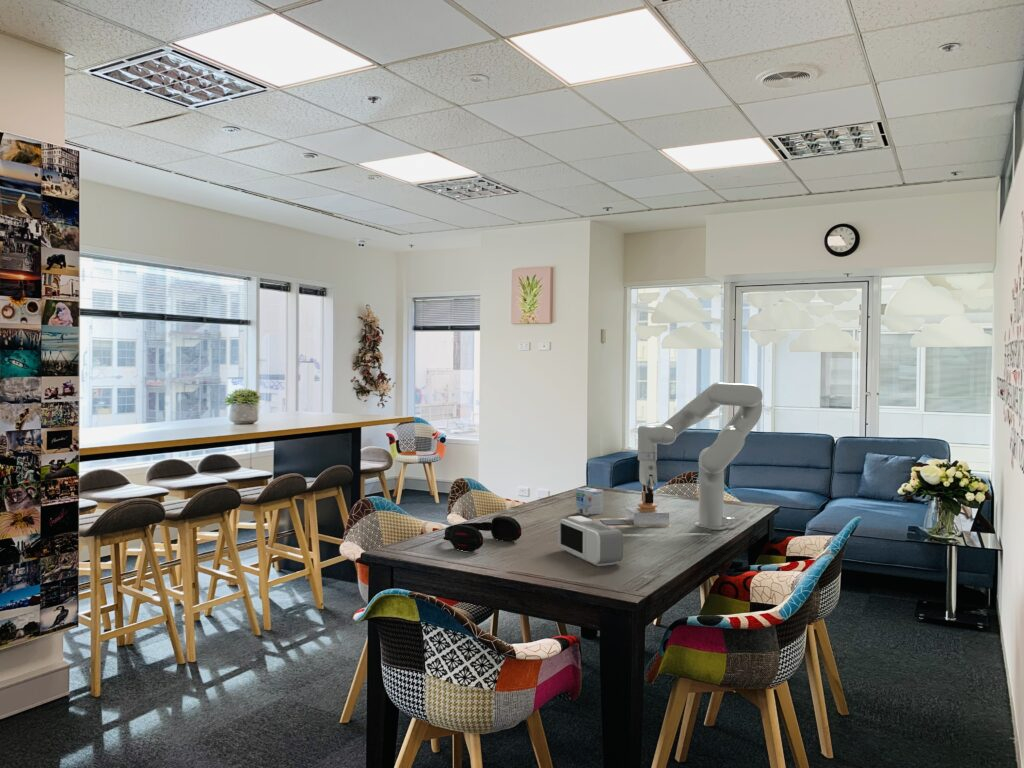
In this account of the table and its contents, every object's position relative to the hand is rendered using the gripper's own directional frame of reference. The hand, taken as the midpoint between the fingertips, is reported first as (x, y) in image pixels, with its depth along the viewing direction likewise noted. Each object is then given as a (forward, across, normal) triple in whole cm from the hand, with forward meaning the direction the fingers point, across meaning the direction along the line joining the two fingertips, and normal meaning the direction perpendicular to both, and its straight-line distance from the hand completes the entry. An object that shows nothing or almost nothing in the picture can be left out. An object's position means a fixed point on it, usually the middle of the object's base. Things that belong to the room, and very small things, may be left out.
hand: (647, 501), depth 310 cm
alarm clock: (+9, -52, +34) cm, 63 cm away
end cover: (+7, 0, 0) cm, 7 cm away
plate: (+9, 0, +6) cm, 11 cm away
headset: (+9, -31, +68) cm, 75 cm away
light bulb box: (+9, +25, +18) cm, 32 cm away
